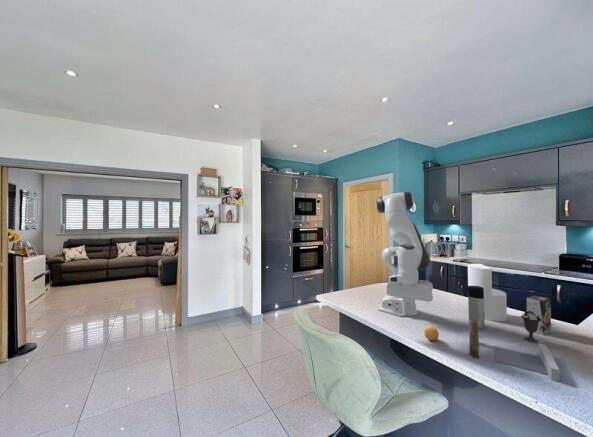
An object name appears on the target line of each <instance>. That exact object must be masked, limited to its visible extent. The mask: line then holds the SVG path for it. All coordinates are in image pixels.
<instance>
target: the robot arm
mask: <svg viewBox="0 0 593 437" xmlns="http://www.w3.org/2000/svg"><path fill="white" fill-rule="evenodd" d="M414 204H415V197H414V196H413V194H412V193H411V192H410V191H403V192H395V193H391V194H387V195H384V196H379V197H377V198H376V200H375V208H376V209H375V210H377V212H378V213H380V214H384V215H385V216H384V217H385V223H386V225H387V226H388V227H389V233H390V238H391V239H392V240H393V241H395V242H396V243H398V245H399V246H391V247H390V246H389V247H385V248H384V249H383V251H382V253H381V259H382V261H383V263H384V264H385V265H386V266H388V267H389V268H390V270H391V271H392V275H390V276H388V282H387V284H386V295H385V296H383V298H382V299H381V303H379V304H378V305H377V310H378V311H381V312H384V313H386V314H387V313H388V314H391V315H393V316H394V315H395V316H398V317H413V316H416V315H418V308H417V305H416V301H422V302H423V301H424V302H429V303H431V302H432V300H433V289H434V285H433V284H434V283H432V282H431V281H429V280H422V279H419V271H420V270H421V271H424V270H426V269H428V268H429V266H430V265H431V257H430V255H429V252H428V251H427V249H426V247H425V245H424V242H423V240H422V238H421V235H420V233H419V230H418V228H417V226H416V224H415V222H413V221H411V220H410V219H409V217H408V216H407V213H406V211H407V212H409V210H411V209H412V208H413V207H414ZM418 270H419V271H418Z"/></svg>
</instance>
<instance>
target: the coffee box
mask: <svg viewBox="0 0 593 437" xmlns="http://www.w3.org/2000/svg"><path fill="white" fill-rule="evenodd" d="M551 302H552V301H551V298H550V297H545V296H538V295H531V296H528V297H526V309H527V310H526V311H531V312H533V313H535V314H536V316H537V317H538V316H539V315H540V317H539V318H540V319H541V321H539V323H538V329H537V331H536V332H535V333H536V334H539V335H542V336H543V335H546V334H547V333H550V332H551V331H552V314H551V313H552V311H551V310H552V307H551V306H552V304H551Z"/></svg>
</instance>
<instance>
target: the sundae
mask: <svg viewBox="0 0 593 437" xmlns="http://www.w3.org/2000/svg"><path fill="white" fill-rule="evenodd" d="M523 307H524V308H525V310H524V313H523V314H522V315H520V318H522V320H523V324H524V325H523V326H524V329H525V331H528V334H529V335H528V336H525V337H523V339H524V340H525V341H527V342H530V343H538V344H539V340H538V339H536V338H534V334H535V333H536V331H537V329H538V323H539V321H541V319H540V318H539V317H540V315H539V316H538V317H537V316H536V314H535V313H533V312H531V311H527V305H526V306H523Z"/></svg>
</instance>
